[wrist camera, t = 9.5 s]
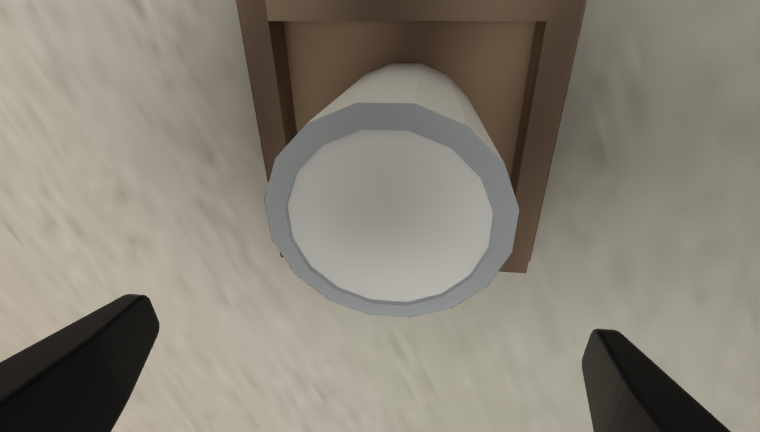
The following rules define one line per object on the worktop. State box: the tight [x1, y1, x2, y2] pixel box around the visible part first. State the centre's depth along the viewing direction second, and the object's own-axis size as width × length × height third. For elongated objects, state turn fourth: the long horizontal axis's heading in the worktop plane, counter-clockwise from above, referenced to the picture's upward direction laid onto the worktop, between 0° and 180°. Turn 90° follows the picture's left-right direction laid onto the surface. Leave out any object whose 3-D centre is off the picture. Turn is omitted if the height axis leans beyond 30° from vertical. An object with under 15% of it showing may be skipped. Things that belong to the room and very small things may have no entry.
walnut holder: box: [236, 0, 587, 273], centre depth 17 cm, size 12×12×2 cm
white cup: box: [264, 63, 519, 317], centre depth 14 cm, size 7×7×7 cm
